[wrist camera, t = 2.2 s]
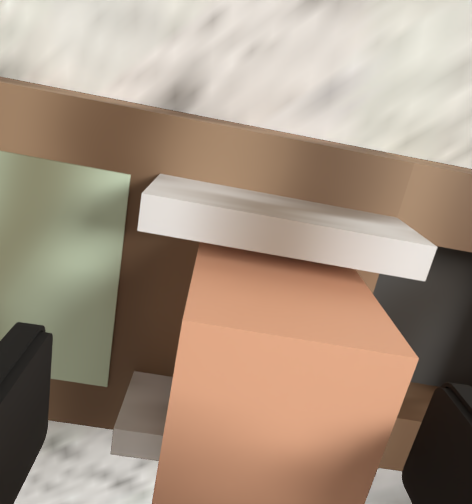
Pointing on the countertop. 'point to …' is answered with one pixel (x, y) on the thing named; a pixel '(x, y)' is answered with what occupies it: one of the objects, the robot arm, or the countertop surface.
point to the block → (279, 384)
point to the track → (213, 232)
